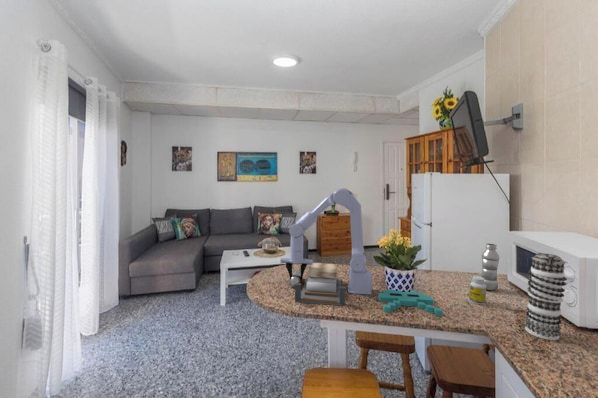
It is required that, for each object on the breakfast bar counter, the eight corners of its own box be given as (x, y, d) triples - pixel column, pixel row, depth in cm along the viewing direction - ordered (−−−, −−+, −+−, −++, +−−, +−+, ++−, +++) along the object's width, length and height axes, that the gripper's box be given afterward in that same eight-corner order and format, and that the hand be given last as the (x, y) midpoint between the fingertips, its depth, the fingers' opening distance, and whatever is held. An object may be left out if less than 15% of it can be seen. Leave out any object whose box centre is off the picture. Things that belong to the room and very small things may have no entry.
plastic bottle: (494, 293, 123) (498, 247, 121) (476, 288, 128) (479, 244, 126) (499, 290, 127) (503, 245, 125) (482, 285, 132) (485, 242, 130)
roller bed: (344, 279, 136) (344, 266, 136) (344, 305, 108) (345, 288, 108) (303, 276, 139) (304, 263, 138) (294, 301, 111) (295, 285, 111)
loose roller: (293, 277, 137) (294, 269, 137) (302, 278, 137) (302, 270, 137) (289, 287, 126) (289, 278, 125) (298, 288, 125) (298, 279, 125)
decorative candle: (542, 341, 87) (549, 259, 85) (516, 325, 96) (522, 251, 94) (569, 340, 88) (577, 259, 86) (541, 324, 97) (547, 251, 95)
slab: (336, 269, 135) (337, 264, 135) (336, 278, 123) (336, 272, 123) (311, 268, 137) (311, 262, 137) (308, 276, 125) (308, 270, 125)
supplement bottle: (465, 300, 116) (467, 276, 115) (475, 298, 117) (477, 274, 117) (478, 305, 110) (480, 280, 110) (488, 303, 112) (490, 279, 112)
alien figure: (442, 317, 102) (423, 294, 122) (442, 310, 102) (424, 289, 122) (384, 313, 104) (375, 291, 124) (384, 307, 104) (375, 286, 124)
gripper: (313, 248, 133) (313, 277, 134) (282, 246, 135) (282, 275, 136) (312, 252, 126) (311, 283, 127) (279, 250, 128) (279, 280, 129)
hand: (296, 279), depth 131 cm, fingers closed on loose roller, 4 cm apart
